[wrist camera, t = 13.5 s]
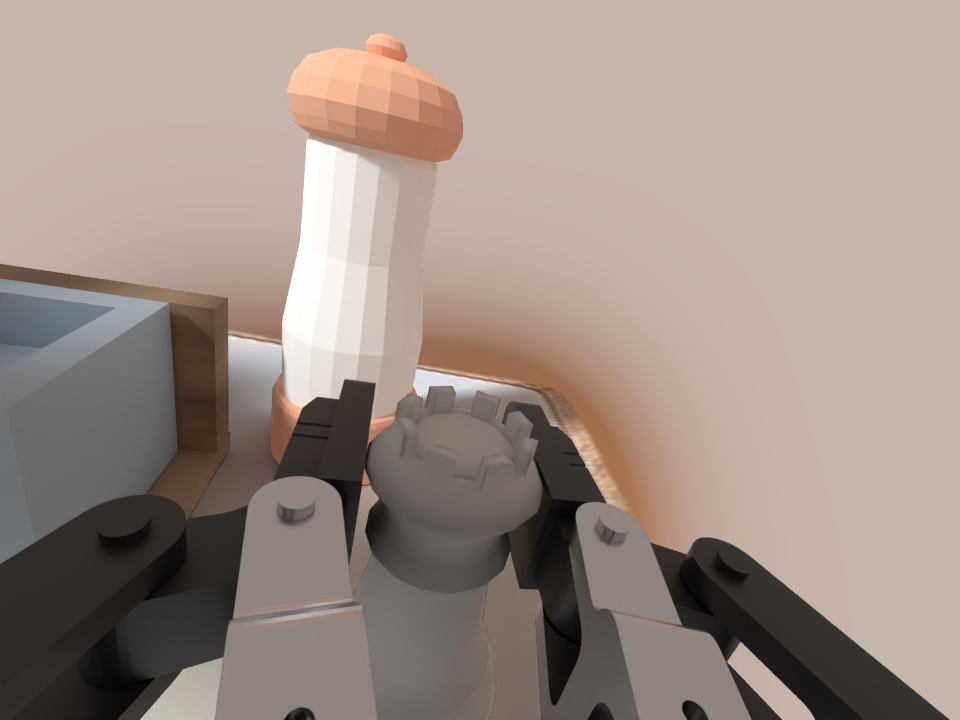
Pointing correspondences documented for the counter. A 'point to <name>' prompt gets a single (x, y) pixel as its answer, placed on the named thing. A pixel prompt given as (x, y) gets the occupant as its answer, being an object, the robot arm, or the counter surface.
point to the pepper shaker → (361, 227)
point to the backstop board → (177, 377)
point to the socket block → (79, 404)
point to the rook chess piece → (441, 550)
